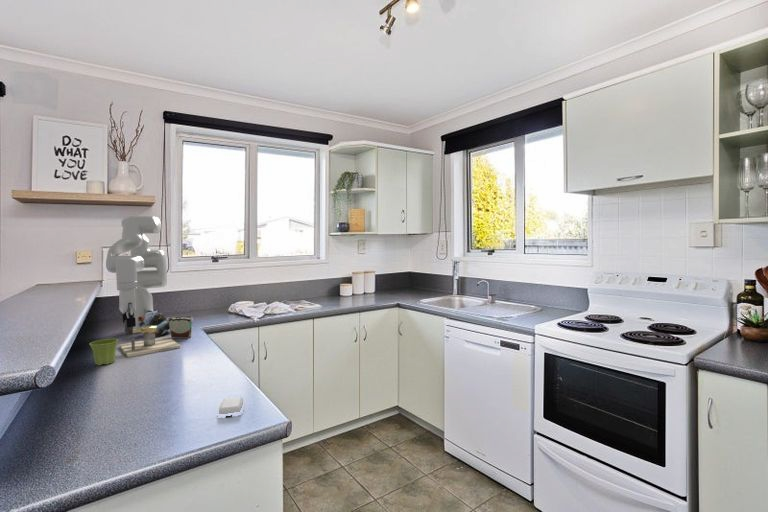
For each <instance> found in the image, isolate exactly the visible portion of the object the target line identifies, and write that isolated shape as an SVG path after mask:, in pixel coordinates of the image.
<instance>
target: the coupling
mask: <svg viewBox="0 0 768 512" xmlns="http://www.w3.org/2000/svg"><path fill="white" fill-rule="evenodd" d="M123 324H124V335H125V336H131V335H134V334H136V333H137V334H139V333H141V334H143V333H152V332H156V331H157V326H155V325H151V326H144V327H141V329H134V330H133V327H129V328H128V327H127V321H126V320H125V321H124V323H123Z"/></svg>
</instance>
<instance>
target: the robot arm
mask: <svg viewBox="0 0 768 512" xmlns="http://www.w3.org/2000/svg"><path fill="white" fill-rule="evenodd" d="M121 227H122V233H121V238H120V239H118V240H117V241H116V242H114V243H113V244H112V245H110V247H109V248H108V250H107V254H106V260H105V268H106V271H108V272H109V273H112V274H115V279H116V290H117V291H119V292H118V293H119V295H118V296H119V298H118V299H119V301H118V302H119V303H118V304H119V306H118V307H119V311H120V312H121V314H122V323H123V324H124V321H125V320H126V321H127V327H128V328H129V327H133V330H134V329H141V328H140V326H139V325H138V317H143V316H144V315H145V314H146V313H147V311H148V310H150V311H152V312H154V299H153V295H152V293H151V292H150V291H149V290H148V289H157V288H159V289H160V288H164V287H166V286H167V281H168V271H167V257H166V254H165V251H164V250H162V249H151V248H150V240H149V238H148V237H147V236H146V235H145V234H159V233H161V230H162V223H161V220H160V218H159V217H158V216H154V215H153V216H152V215H151V216H149V215H147V216H146V215H144V216H143V215H133V216H128V217H124V218H123V219H122V220H121ZM127 252H130V255H122V254H124V253H127ZM147 268H152V269H150V270H149V269H147ZM153 268H155V269H153ZM144 269H147V270H144Z"/></svg>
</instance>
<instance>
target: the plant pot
mask: <svg viewBox="0 0 768 512" xmlns="http://www.w3.org/2000/svg"><path fill="white" fill-rule="evenodd" d="M118 341H119V339H118V338H105V339H99V340H95V341H94V340H93V341H92V342H89V344H88V345H89V346H90V349H92V353H93V357H94V358H93V359H94V363H95V365H96V364H97V365H96V366H101V365H102V364H107V365H110V364H109V363H111V364H113V363H114V362H115V360H116V353H117V352H116V349H117V345H118ZM112 362H113V363H112Z"/></svg>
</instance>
